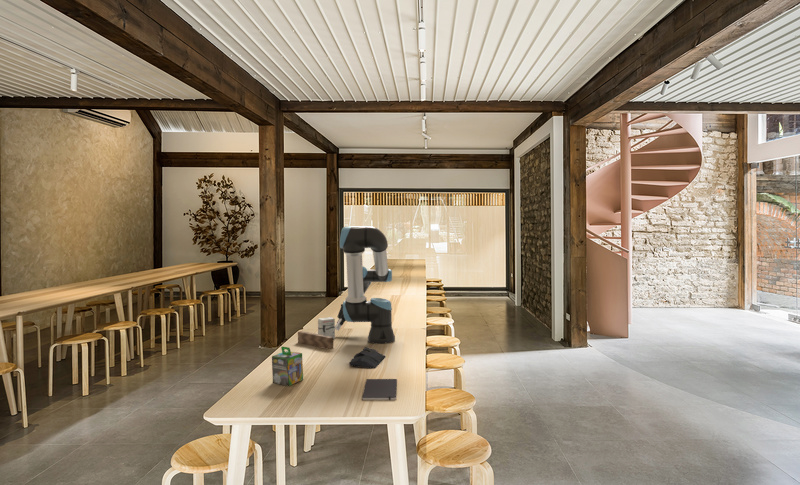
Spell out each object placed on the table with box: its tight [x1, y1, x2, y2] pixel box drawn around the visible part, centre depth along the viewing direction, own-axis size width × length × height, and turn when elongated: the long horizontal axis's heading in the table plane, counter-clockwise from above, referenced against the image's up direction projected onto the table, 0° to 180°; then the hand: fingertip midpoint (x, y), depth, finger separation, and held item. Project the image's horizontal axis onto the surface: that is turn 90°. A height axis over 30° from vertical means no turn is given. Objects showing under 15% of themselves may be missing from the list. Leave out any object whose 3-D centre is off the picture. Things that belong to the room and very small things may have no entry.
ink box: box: [317, 316, 336, 340], centre depth 274 cm, size 8×5×12 cm, turn 123°
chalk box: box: [271, 346, 304, 387], centre depth 201 cm, size 9×9×15 cm
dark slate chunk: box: [348, 346, 386, 369], centre depth 229 cm, size 15×22×5 cm
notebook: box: [361, 378, 398, 401], centre depth 190 cm, size 13×2×21 cm
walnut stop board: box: [297, 330, 334, 350], centre depth 260 cm, size 25×2×6 cm, turn 53°
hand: (336, 329), depth 281 cm, fingers closed
